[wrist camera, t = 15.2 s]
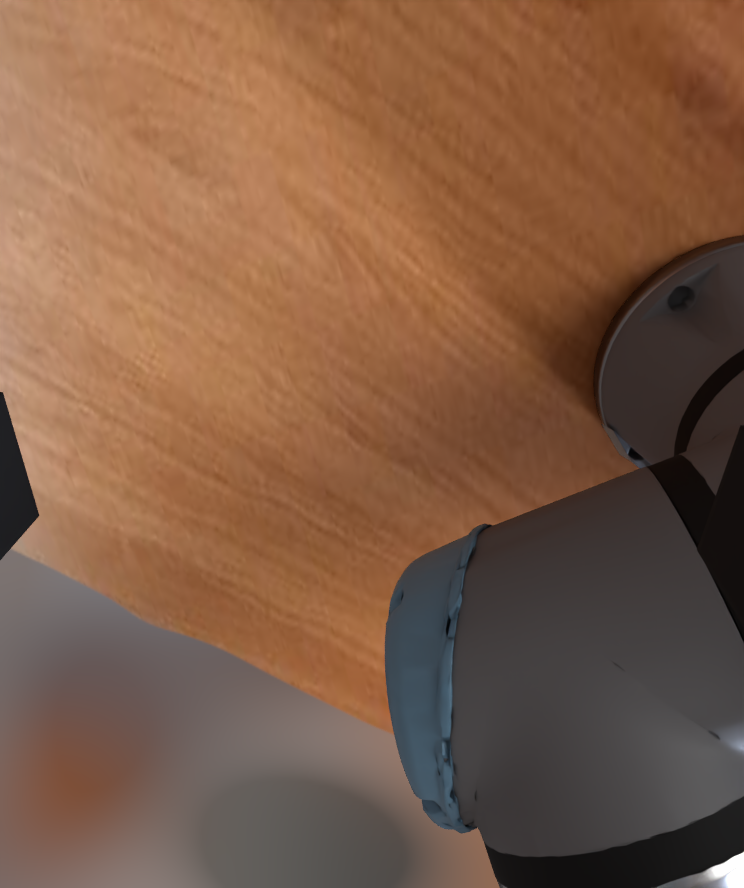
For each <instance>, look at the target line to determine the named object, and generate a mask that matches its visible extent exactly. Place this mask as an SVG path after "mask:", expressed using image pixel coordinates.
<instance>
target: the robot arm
mask: <svg viewBox="0 0 744 888" xmlns="http://www.w3.org/2000/svg"><path fill="white" fill-rule="evenodd" d="M594 396H595V401H596V406H597V409H598V412H599V415H600V417H601V420H602V422H603V424H604V425H603V424H602V426H603V428H604V429H605V431H606V433H607V434H608V436H609V438H610V439H611V441H612V443H613V444H614V446H615V448H616V449H617V451H618V453H619V454H620V455H621V456H623V457H624V458H626V459H628V460H629V461H632V462H633V463H634V464H635V465H636V466H637V467H639V468H640V469H638V470H635V471H633V472H630V473H627V474H625V475H622V476H620V477H617V478H615V479H612V480H609V481H607V482H604V483H602V484H599V485H597V486H594V487H591V488H589V489H586V490H584V491H581V492H578V493H576V494H573V495H571V496H568V497H566V498H563V499H560V500H558V501H555V502H553V503H550V504H548V505H545V506H542V507H540V508H537V509H535V510H532V511H530V512H527V513H524V514H522V515H519V516H517V517H514V518H512V519H509V520H506V521H504V522H501V523H499V524H496V525H494V526H492V525H487V524H482V525H479V526H477V527H475V528H474V529H473V530H472V531H471V532H470V533H469V535H467V536H464V537H462V538H460V539H458V540H455V541H453V542H451V543H449V544H447V545H444V546H442V547H440V548H438V549H435V550H433V551H431V552H429V553H426V554H424V555H422V556H421V557H419V558H417V559H416V560H415V561H413V562H412V563H411V564H410V565H409V566H408V567H407V568H406V569H405V571H404V572H403V574H402V575H401V577H400V579H399V580H398V582H397V584H396V586H395V589H394V592H393V595H392V598H391V601H390V608H389V616H388V621H387V623H386V635H385V673H386V685H387V695H388V702H389V709H390V715H391V720H392V726H393V730H394V735H395V739H396V743H397V748H398V751H399V755H400V759H401V762H402V765H403V768H404V771H405V773H406V776H407V778H408V781H409V783H410V785H411V788H412V790H413V792H414V794H415V795H416V796H417V797H419V798H420V799H422V804H423V810H424V811H425V813H426V814H427V815H428V816H429V818H430V819H431V820H432V821H433V822H434V823H436V824H437V825H438V826H440V827H442V828H444V829H454V830H456V831H458V832H459V833H466V832H470V831H471V830H473V829H475V828H477V827H478V829H479V830H480V833H481V835H482V838H483V841H484V843H485V847H486V850H487V853H488V856H489V859H490V862H491V865H492V868H493V871H494V874H495V877H496V879H497V882H498V884H499V886H500V888H744V236H737V237H732V238H727V239H723V240H719V241H716V242H713V243H709V244H707V245H704V246H702V247H699V248H697V249H694V250H692V251H690V252H688V253H686V254H684V255H682V256H680V257H678V258H677V259H675V260H673V261H672V262H670V263H668V264H667V265H665V266H664V267H662V268H661V269H660V270H658V271H657V272H655V273H654V274H653V275H652V276H651V277H649V278H648V279H647V280H646V281H645V282H643V283H642V284H641V285H640V286H639V287H638V288H637V289H636V290H635V291H634V292H633V293H632V295H631V296H630V297H629V298H628V299H627V300H626V302H625V303H624V304H623V305H622V307H621V308H620V309H619V311H618V312H617V314H616V315H615V317H614V318H613V320H612V322H611V323H610V325H609V327H608V329H607V331H606V333H605V335H604V337H603V340H602V343H601V345H600V348H599V351H598V355H597V359H596V364H595V370H594ZM38 516H39V513H38V510H37V506H36V503H35V499H34V496H33V493H32V489H31V486H30V483H29V479H28V476H27V472H26V469H25V466H24V462H23V459H22V455H21V452H20V449H19V445H18V442H17V439H16V435H15V432H14V428H13V425H12V422H11V418H10V415H9V411H8V408H7V405H6V401H5V398H4V395H3V392H0V560H1V559H2V558H3V556H4V555H5V554H6V553H7V552H8V551H9V550H10V549H11V547H12V546H13V545H14V544H15V543H16V542H17V541H18V539H19V538H20V537H21V536H22V535H23V534H24V532H25V531H26V530H27V529H28V528H29V527H30V526H31V524H32V523H33V522H34V521H35V520H36V519H37V518H38Z"/></svg>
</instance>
